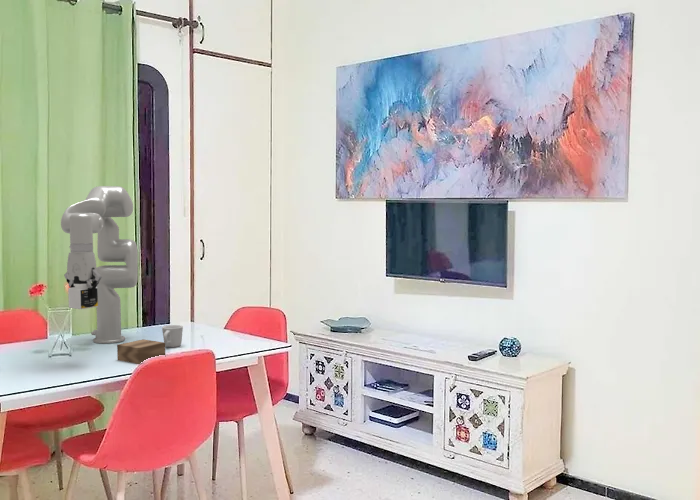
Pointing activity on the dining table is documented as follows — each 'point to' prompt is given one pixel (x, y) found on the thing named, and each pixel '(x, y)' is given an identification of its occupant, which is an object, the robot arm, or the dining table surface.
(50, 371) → the dining table surface
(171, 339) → the cup
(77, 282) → the medicine bottle
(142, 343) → the walnut block
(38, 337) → the dining table surface
